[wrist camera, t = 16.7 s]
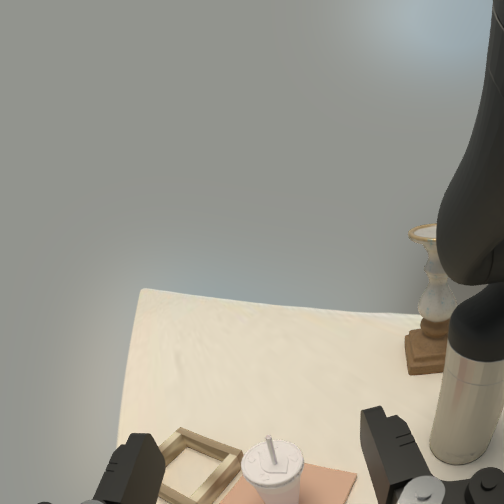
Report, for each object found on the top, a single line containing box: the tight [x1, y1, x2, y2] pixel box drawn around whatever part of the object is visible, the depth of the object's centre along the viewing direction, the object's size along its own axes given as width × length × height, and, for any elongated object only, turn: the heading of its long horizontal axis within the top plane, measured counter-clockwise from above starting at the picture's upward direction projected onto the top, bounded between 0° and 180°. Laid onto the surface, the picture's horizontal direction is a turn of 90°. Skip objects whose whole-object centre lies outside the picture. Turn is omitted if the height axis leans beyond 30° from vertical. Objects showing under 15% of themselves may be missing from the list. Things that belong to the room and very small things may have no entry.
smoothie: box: [241, 435, 304, 504], centre depth 28 cm, size 6×6×14 cm
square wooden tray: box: [158, 427, 243, 504], centre depth 37 cm, size 11×11×3 cm
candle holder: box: [405, 224, 457, 375], centre depth 49 cm, size 11×11×24 cm
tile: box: [219, 463, 357, 504], centre depth 30 cm, size 14×14×1 cm
